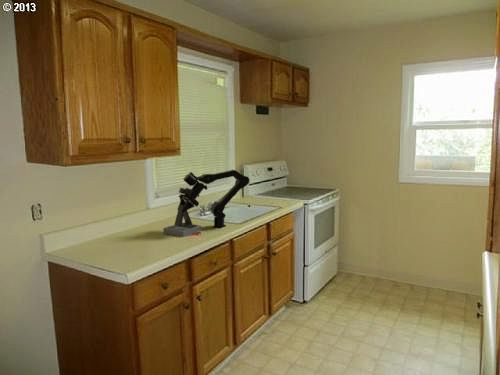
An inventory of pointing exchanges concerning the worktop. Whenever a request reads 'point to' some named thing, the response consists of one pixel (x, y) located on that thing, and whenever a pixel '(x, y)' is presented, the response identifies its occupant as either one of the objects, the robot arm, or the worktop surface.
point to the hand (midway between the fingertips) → (179, 211)
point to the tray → (182, 230)
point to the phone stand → (180, 217)
